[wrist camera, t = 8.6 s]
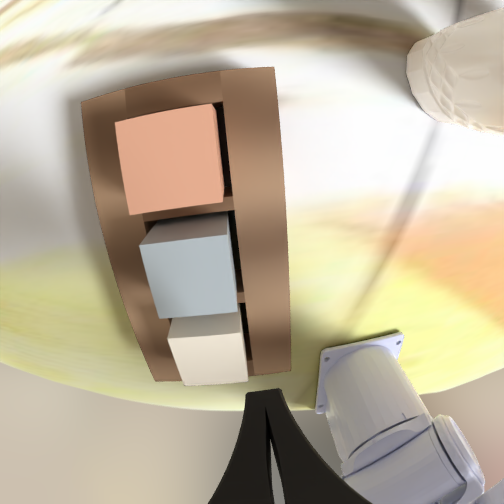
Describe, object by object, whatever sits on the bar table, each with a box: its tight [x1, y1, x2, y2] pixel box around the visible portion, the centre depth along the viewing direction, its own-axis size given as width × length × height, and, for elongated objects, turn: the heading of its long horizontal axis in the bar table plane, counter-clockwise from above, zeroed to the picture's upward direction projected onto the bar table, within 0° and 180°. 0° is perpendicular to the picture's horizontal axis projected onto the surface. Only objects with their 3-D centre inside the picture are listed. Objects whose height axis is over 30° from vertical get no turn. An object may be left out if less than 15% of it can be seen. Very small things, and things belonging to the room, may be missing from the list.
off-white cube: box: [167, 303, 248, 386], centre depth 17 cm, size 4×4×4 cm
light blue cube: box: [139, 211, 238, 319], centre depth 15 cm, size 4×4×4 cm
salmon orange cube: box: [115, 104, 224, 215], centre depth 12 cm, size 4×4×4 cm
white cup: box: [406, 8, 504, 137], centre depth 10 cm, size 8×8×10 cm
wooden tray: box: [81, 67, 291, 381], centre depth 17 cm, size 19×10×3 cm, turn 5°
